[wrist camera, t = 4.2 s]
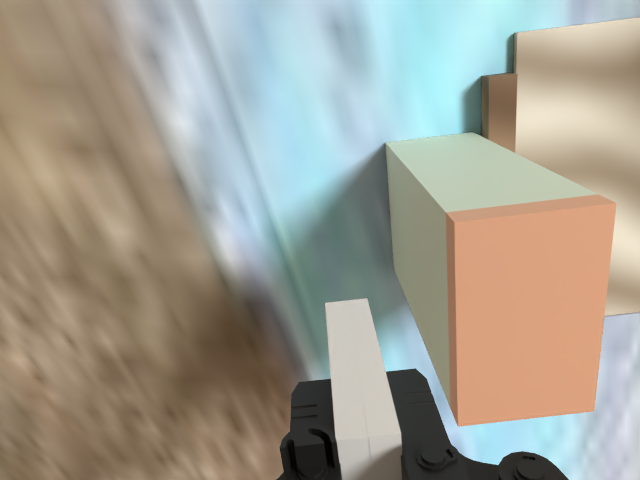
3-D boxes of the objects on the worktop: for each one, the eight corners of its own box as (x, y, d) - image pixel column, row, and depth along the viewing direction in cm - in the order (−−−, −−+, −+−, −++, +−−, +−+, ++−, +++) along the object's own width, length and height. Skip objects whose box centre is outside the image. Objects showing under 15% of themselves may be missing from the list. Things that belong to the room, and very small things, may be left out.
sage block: (385, 142, 28) (454, 222, 15) (472, 131, 28) (616, 203, 15) (393, 268, 31) (457, 426, 18) (472, 259, 31) (594, 411, 18)
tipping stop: (481, 36, 26) (489, 36, 25) (816, -5, 26) (839, -7, 25) (480, 326, 33) (486, 336, 32) (748, 295, 33) (763, 304, 31)
